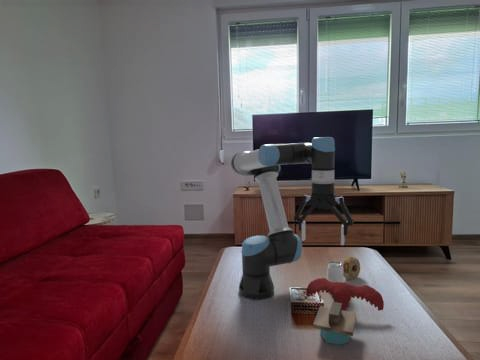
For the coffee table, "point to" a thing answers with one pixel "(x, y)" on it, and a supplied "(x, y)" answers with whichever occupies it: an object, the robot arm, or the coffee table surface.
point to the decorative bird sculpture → (346, 292)
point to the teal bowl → (334, 337)
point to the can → (335, 272)
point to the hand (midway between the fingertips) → (322, 241)
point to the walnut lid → (335, 319)
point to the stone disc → (351, 268)
